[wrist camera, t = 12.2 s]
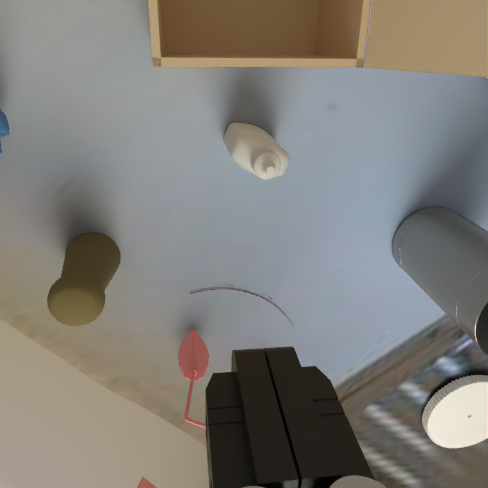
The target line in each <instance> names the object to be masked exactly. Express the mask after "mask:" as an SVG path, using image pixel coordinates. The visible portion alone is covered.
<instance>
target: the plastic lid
mask: <svg viewBox="0 0 488 488" xmlns="http://www.w3.org/2000/svg"><path fill="white" fill-rule="evenodd" d="M423 412H424V413H423V416H422V418H423V419H422V423H423V427H424V429H425V431H426V433H427V434H428V436H429V437H430V439H431V440H432V441H434V443H436V444H437V445H439V446H442V447H443V446H444V447H445V448H446V447H447V448H460V447H461V448H463V447H467V446H470V445H474V444H475V443H476V444H477V443H478V442H481V441H482V440H485V439H487V438H488V376H487V375H485V376H484V375H474V376H473V375H471V376H467V377H463V378H459V379H458V380H457V379H456V380H455V381H452V382H451V383H448V385H445V386H444V387H442V388H441V390H438V392H437V393H435V395H433V396H432V398H430V401H428V404H426V407H425V410H424V411H423Z"/></svg>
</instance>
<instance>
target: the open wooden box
mask: <svg viewBox="0 0 488 488" xmlns="http://www.w3.org/2000/svg"><path fill="white" fill-rule="evenodd" d="M148 5H149V19H150V32H151V46H152V60H153V66H162V67H363V66H364V57H365V49H366V40H367V32H368V23H369V15H370V7H371V0H148Z"/></svg>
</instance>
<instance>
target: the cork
mask: <svg viewBox="0 0 488 488" xmlns="http://www.w3.org/2000/svg"><path fill="white" fill-rule="evenodd" d="M119 264H120V252H119V249H118V247H117V246H116V244H115V243H114V242H113V241H112V240H111V239H109V238H108V237H106V236H104V235H101V234H98V233H86V234H81V235H79V236H77V237H76V238H74V239H73V240H72V241H71V242H70V244H69V245H68V248H67V251H66V255H65V260H64V265H63V270H62V274H61V278H59V279H58V280H57V281H56V282H55V283H54V284H53V285H52V287H51V288H50V291H49V294H48V298H47V300H48V308H49V310H50V312H51V314H52V315H53V316H54V317H55V318H56V320H58V321H59V322H61V323H63V324H66V325H69V326H81V325H86V324H88V323H90V322H92V321H94V320H95V319H96V318H97V317H98V316H99V315H100V313H101V312H102V310H103V307H104V304H105V293H104V291H105V289H106V287H107V286H108V284H109V282H110V280H111V279H112V277H113V275H114V274H115V272H116V270H117V269H118V266H119Z"/></svg>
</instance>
